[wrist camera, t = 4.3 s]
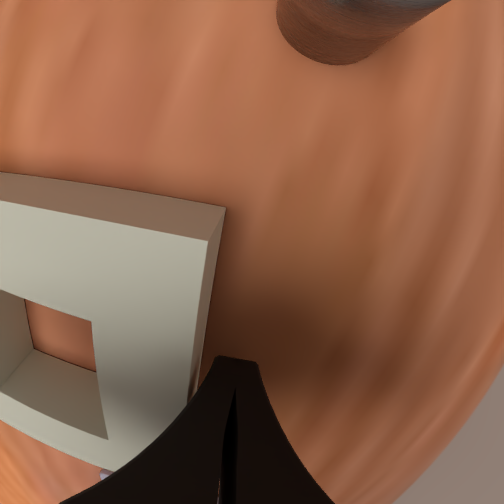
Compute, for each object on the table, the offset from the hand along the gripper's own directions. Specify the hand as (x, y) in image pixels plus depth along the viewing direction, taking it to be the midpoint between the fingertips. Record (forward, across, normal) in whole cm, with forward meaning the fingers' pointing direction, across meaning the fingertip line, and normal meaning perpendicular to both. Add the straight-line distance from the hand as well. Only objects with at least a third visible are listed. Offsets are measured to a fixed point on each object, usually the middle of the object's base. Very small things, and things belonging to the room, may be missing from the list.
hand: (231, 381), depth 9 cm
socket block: (+1, +6, 0) cm, 6 cm away
